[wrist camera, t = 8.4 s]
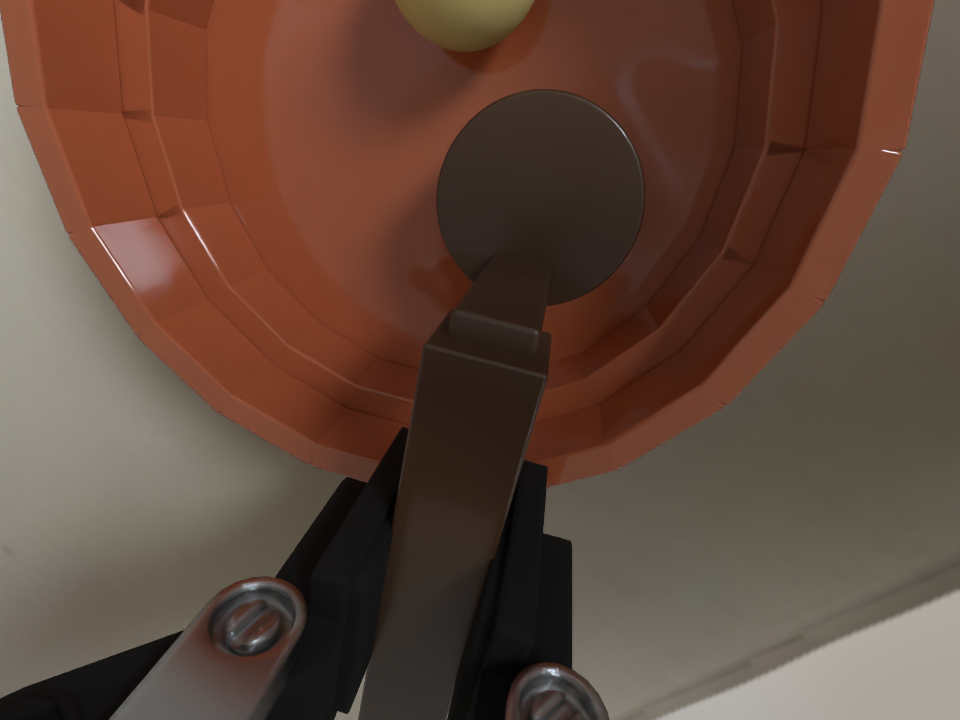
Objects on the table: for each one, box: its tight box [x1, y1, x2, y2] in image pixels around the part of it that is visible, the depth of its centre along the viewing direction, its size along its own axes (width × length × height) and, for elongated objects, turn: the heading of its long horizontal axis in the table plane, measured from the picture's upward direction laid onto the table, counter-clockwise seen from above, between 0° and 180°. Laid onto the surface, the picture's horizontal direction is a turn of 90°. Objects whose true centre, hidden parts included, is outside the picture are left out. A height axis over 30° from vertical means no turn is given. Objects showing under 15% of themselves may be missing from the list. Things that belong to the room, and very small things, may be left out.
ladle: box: [358, 89, 645, 720], centre depth 11 cm, size 16×4×6 cm, turn 168°
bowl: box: [0, 0, 935, 488], centre depth 10 cm, size 15×15×4 cm
